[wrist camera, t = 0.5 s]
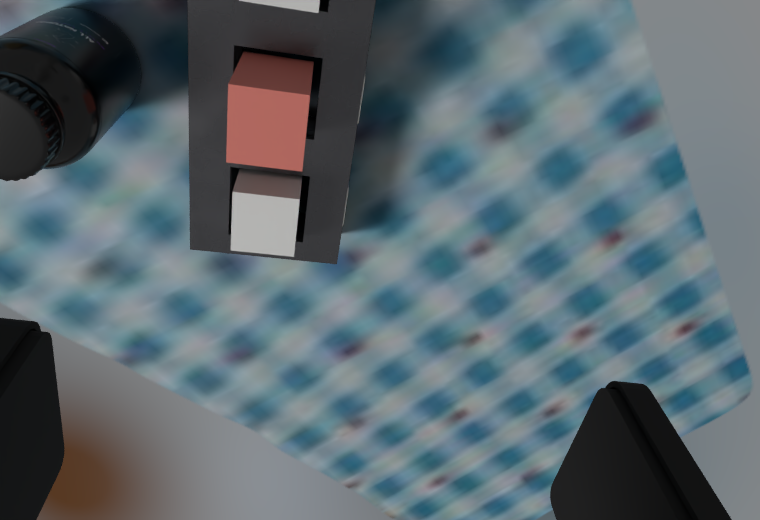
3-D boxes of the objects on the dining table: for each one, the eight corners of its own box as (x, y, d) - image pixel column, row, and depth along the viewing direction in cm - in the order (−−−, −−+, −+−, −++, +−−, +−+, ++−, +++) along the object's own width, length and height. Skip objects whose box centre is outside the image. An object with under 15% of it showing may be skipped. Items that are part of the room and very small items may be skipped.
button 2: (243, 51, 35) (228, 83, 30) (313, 61, 35) (309, 95, 30) (241, 121, 37) (226, 162, 32) (306, 129, 38) (302, 171, 33)
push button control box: (201, -252, 30) (184, -265, 27) (403, -209, 31) (410, -217, 28) (201, 219, 45) (190, 249, 41) (338, 234, 46) (338, 264, 43)
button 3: (245, 151, 41) (232, 191, 36) (304, 158, 42) (299, 199, 37) (242, 205, 43) (230, 250, 38) (298, 211, 44) (293, 256, 39)
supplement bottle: (111, -10, 36) (24, 42, 26) (162, 100, 40) (102, 183, 30) (4, 21, 36) (-122, 84, 26) (64, 126, 40) (-26, 215, 30)
